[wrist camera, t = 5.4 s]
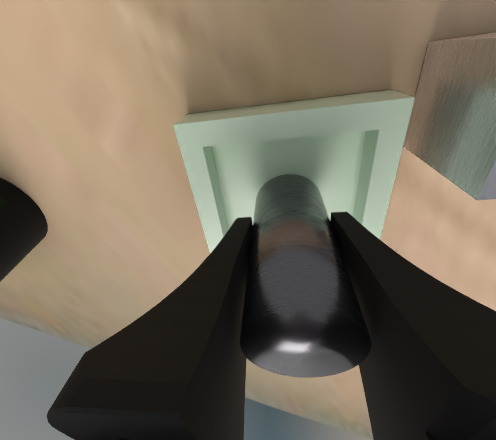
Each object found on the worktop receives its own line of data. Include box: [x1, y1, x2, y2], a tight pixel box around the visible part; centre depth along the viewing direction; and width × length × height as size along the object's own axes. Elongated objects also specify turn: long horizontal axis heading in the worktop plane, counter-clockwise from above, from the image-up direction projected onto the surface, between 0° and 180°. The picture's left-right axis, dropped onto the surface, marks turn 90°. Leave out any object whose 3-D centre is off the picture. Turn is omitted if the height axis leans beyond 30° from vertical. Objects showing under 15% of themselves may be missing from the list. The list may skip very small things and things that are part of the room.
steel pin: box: [240, 174, 372, 377], centre depth 9 cm, size 3×3×7 cm
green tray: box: [173, 90, 415, 253], centre depth 12 cm, size 9×9×2 cm
